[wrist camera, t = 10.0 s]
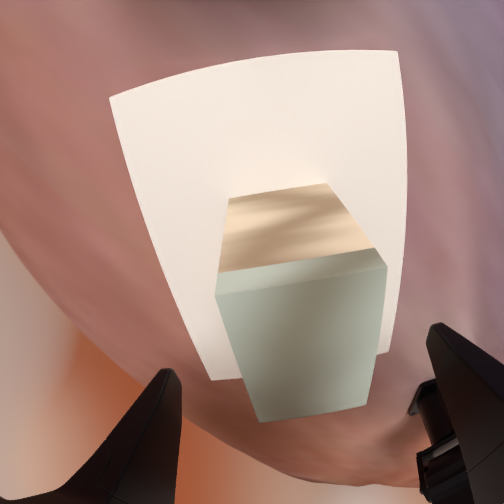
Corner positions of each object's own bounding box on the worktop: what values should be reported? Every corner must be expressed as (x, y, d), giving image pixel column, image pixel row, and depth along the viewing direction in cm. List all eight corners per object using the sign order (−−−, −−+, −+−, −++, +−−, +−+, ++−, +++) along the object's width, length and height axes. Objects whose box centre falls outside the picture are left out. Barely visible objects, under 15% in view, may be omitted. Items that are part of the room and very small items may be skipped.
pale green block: (326, 182, 13) (387, 266, 7) (333, 301, 17) (366, 404, 11) (229, 198, 14) (214, 295, 8) (255, 314, 17) (259, 422, 11)
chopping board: (383, 340, 20) (388, 351, 19) (212, 368, 21) (211, 380, 20) (386, 53, 11) (397, 51, 10) (119, 96, 12) (109, 97, 11)
